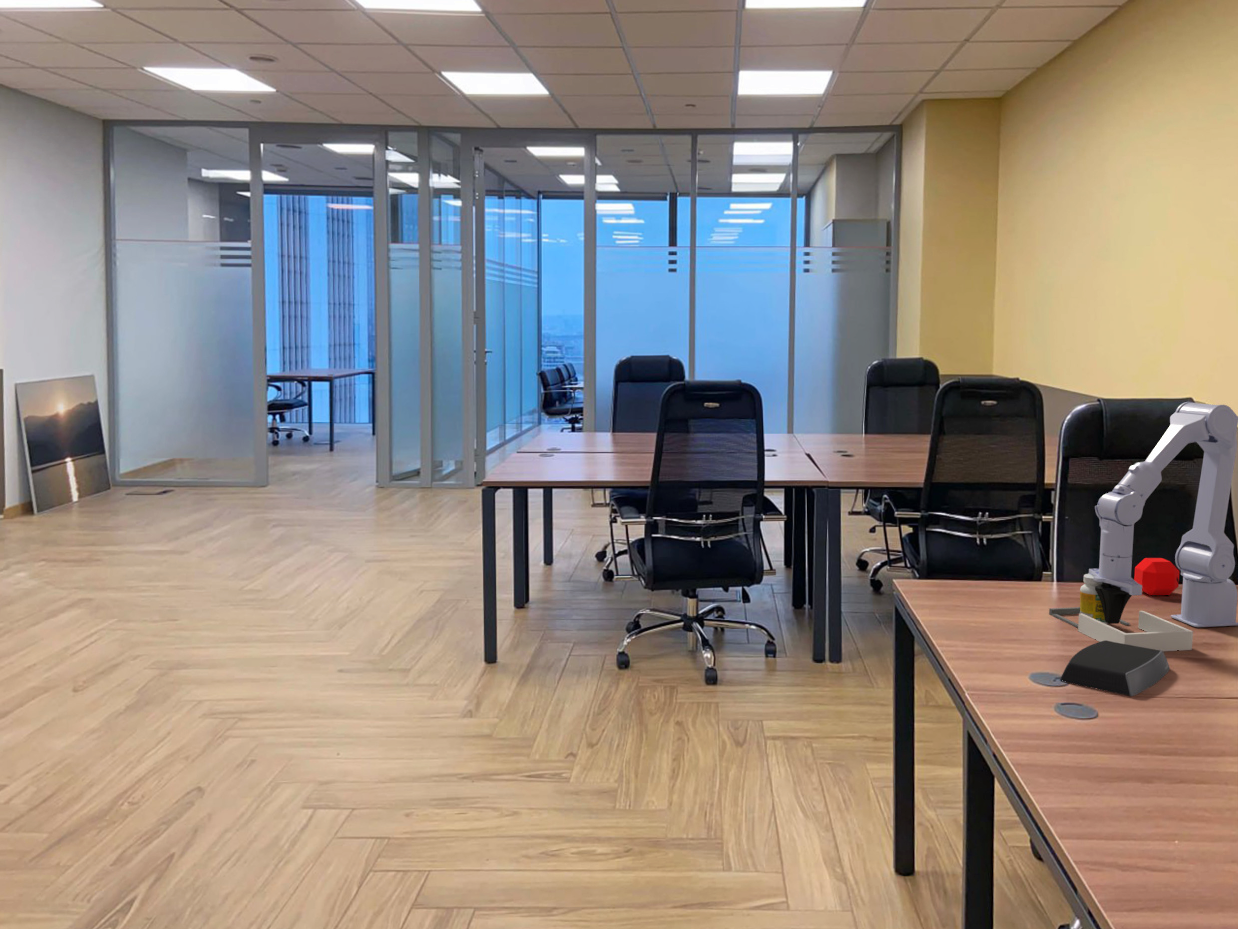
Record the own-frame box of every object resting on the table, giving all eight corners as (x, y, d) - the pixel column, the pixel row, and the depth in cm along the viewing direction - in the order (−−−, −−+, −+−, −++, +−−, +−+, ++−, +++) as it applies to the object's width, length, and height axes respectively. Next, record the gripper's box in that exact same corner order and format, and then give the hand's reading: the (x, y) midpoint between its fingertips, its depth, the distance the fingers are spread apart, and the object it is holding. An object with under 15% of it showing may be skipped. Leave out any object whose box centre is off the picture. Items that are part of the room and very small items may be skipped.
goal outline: (1099, 611, 228) (1099, 606, 227) (1129, 625, 217) (1129, 619, 217) (1049, 614, 226) (1049, 608, 226) (1077, 627, 216) (1077, 621, 216)
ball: (1182, 598, 239) (1184, 563, 238) (1145, 598, 239) (1147, 563, 238) (1165, 589, 247) (1167, 556, 246) (1129, 589, 247) (1131, 556, 246)
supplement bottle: (1092, 616, 223) (1092, 571, 221) (1115, 623, 218) (1115, 576, 217) (1073, 621, 220) (1074, 575, 219) (1096, 627, 216) (1096, 580, 214)
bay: (1141, 628, 215) (1142, 610, 215) (1191, 649, 201) (1193, 631, 201) (1078, 631, 213) (1078, 613, 213) (1123, 653, 199) (1124, 634, 198)
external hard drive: (1174, 672, 190) (1176, 649, 189) (1135, 700, 176) (1137, 676, 175) (1097, 657, 198) (1098, 635, 198) (1054, 682, 185) (1055, 659, 184)
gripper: (1076, 547, 219) (1072, 614, 220) (1119, 563, 204) (1115, 634, 206) (1108, 546, 220) (1105, 612, 221) (1153, 561, 205) (1149, 632, 207)
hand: (1112, 622), depth 214 cm, fingers closed
